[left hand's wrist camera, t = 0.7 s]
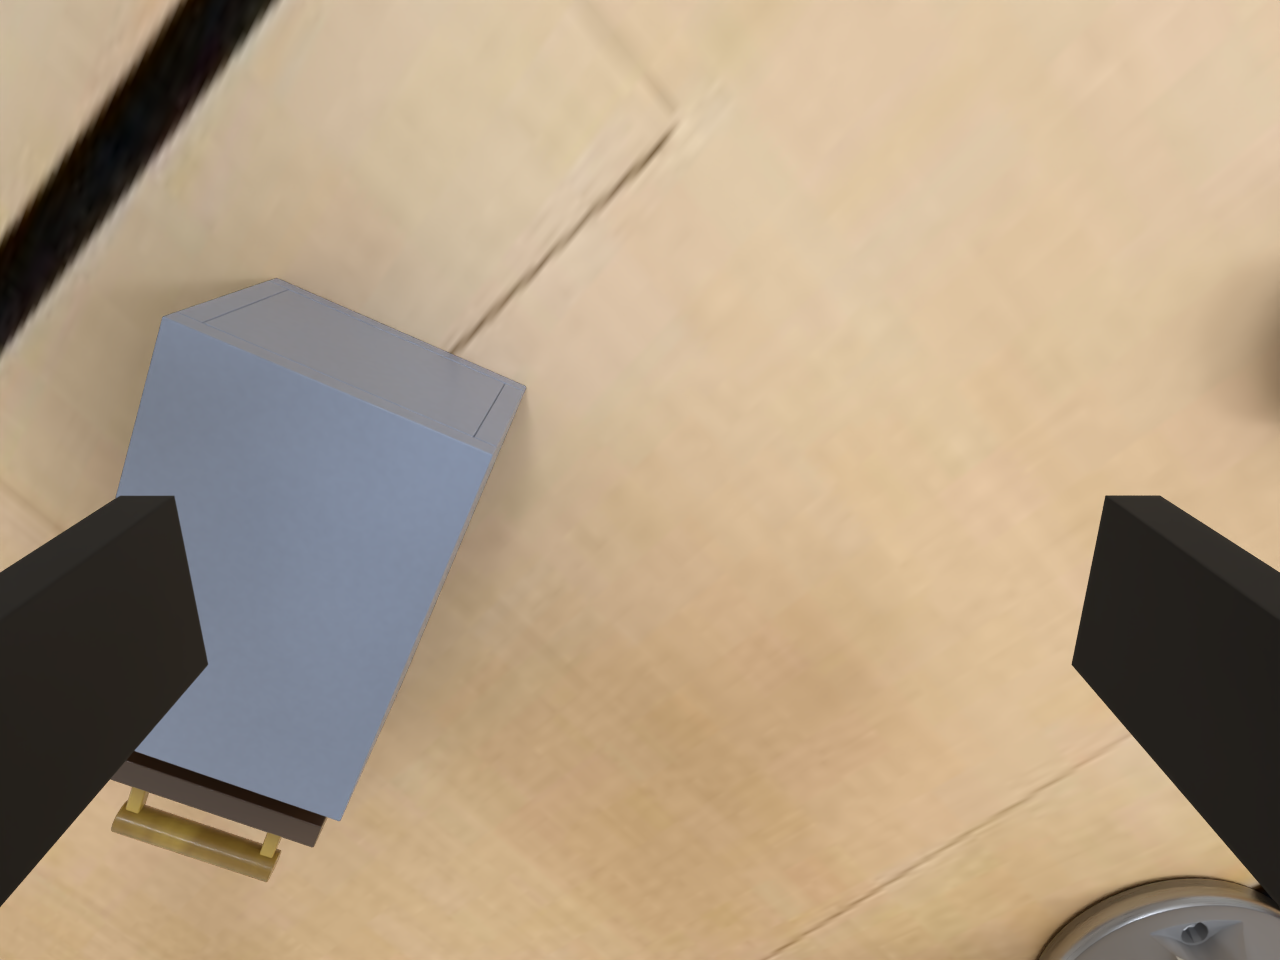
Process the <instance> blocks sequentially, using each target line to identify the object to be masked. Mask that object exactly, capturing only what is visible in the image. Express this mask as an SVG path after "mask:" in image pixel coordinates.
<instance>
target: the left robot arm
mask: <svg viewBox="0 0 1280 960" xmlns="http://www.w3.org/2000/svg"><path fill="white" fill-rule="evenodd" d="M207 666H208V660H207V655H206V650H205V645H204V640H203V635H202V630H201V625H200V621H199V616H198V611H197V606H196V601H195V596H194V591H193V586H192V581H191V576H190V571H189V566H188V561H187V556H186V551H185V546H184V541H183V536H182V531H181V526H180V521H179V516H178V511H177V506H176V501H175V496H119V497H117V498H116V499H114V500H113V501H111V502H109V503H108V504H106V505H105V506H103V507H102V508H100V509H99V510H97V511H95V512H94V513H92V514H91V515H89V516H88V517H86V518H85V519H83V520H81V521H80V522H78V523H77V524H75V525H74V526H72V527H70V528H69V529H67V530H66V531H64V532H63V533H61V534H60V535H58V536H56V537H55V538H53V539H52V540H50V541H49V542H47V543H46V544H44V545H42V546H41V547H39V548H38V549H36V550H35V551H33V552H32V553H30V554H28V555H27V556H25V557H24V558H22V559H21V560H19V561H17V562H16V563H14V564H13V565H11V566H10V567H8V568H7V569H5V570H3V571H2V572H0V907H1V905H2V904H3V903H4V902H5V901H6V900H7V898H8V897H9V896H10V895H11V894H12V893H13V892H14V890H15V889H16V888H17V887H18V886H19V885H20V883H21V882H22V881H23V880H24V879H25V878H26V876H27V875H28V874H29V873H30V872H31V871H32V869H33V868H34V867H35V866H36V865H37V864H38V862H39V861H40V860H41V859H42V858H43V857H44V855H45V854H46V853H47V852H48V851H49V850H50V848H51V847H52V846H53V845H54V844H55V843H56V841H57V840H58V839H59V838H60V837H61V836H62V834H63V833H64V832H65V831H66V830H67V829H68V827H69V826H70V825H71V824H72V823H73V822H74V820H75V819H76V818H77V817H78V816H79V815H80V814H81V812H82V811H83V810H84V809H85V808H86V807H87V805H88V804H89V803H90V802H91V801H92V800H93V798H94V797H95V796H96V795H97V794H98V793H99V791H100V790H101V789H102V788H103V787H104V786H105V784H106V783H107V782H108V781H109V780H110V779H111V777H112V776H113V775H114V774H115V773H116V772H117V770H118V769H119V768H120V767H121V766H122V765H123V763H124V762H125V761H126V760H127V759H128V758H129V756H130V755H131V754H132V753H133V752H134V751H135V749H136V748H137V747H138V746H139V745H140V744H141V742H142V741H143V740H144V739H145V738H146V737H147V735H148V734H149V733H150V732H151V731H152V730H153V729H154V727H155V726H156V725H157V724H158V723H159V722H160V720H161V719H162V718H163V717H164V716H165V715H166V713H167V712H168V711H169V710H170V709H171V708H172V706H173V705H174V704H175V703H176V702H177V701H178V699H179V698H180V697H181V696H182V695H183V694H184V692H185V691H186V690H187V689H188V688H189V687H190V685H191V684H192V683H193V682H194V681H195V680H196V678H197V677H198V676H199V675H200V674H201V673H202V671H203V670H204V669H205V668H206V667H207ZM1072 666H1073V667H1074V668H1075V669H1076V670H1077V671H1078V673H1079V674H1080V675H1081V676H1082V677H1083V678H1084V680H1085V681H1086V682H1087V683H1088V684H1089V685H1090V687H1091V688H1092V689H1093V690H1094V691H1095V692H1096V694H1097V695H1098V696H1099V697H1100V698H1101V699H1102V701H1103V702H1104V703H1105V704H1106V705H1107V706H1108V708H1109V709H1110V710H1111V711H1112V712H1113V713H1114V715H1115V716H1116V717H1117V718H1118V719H1119V720H1120V722H1121V723H1122V724H1123V725H1124V726H1125V727H1126V729H1127V730H1128V731H1129V732H1130V733H1131V734H1132V735H1133V737H1134V738H1135V739H1136V740H1137V741H1138V742H1139V744H1140V745H1141V746H1142V747H1143V748H1144V749H1145V751H1146V752H1147V753H1148V754H1149V755H1150V756H1151V758H1152V759H1153V760H1154V761H1155V762H1156V763H1157V765H1158V766H1159V767H1160V768H1161V769H1162V770H1163V772H1164V773H1165V774H1166V775H1167V776H1168V777H1169V779H1170V780H1171V781H1172V782H1173V783H1174V784H1175V786H1176V787H1177V788H1178V789H1179V790H1180V791H1181V793H1182V794H1183V795H1184V796H1185V797H1186V798H1187V800H1188V801H1189V802H1190V803H1191V804H1192V805H1193V807H1194V808H1195V809H1196V810H1197V811H1198V812H1199V814H1200V815H1201V816H1202V817H1203V818H1204V819H1205V820H1206V822H1207V823H1208V824H1209V825H1210V826H1211V827H1212V829H1213V830H1214V831H1215V832H1216V833H1217V834H1218V836H1219V837H1220V838H1221V839H1222V840H1223V841H1224V843H1225V844H1226V845H1227V846H1228V847H1229V848H1230V850H1231V851H1232V852H1233V853H1234V854H1235V855H1236V857H1237V858H1238V859H1239V860H1240V861H1241V862H1242V864H1243V865H1244V866H1245V867H1246V868H1247V869H1248V871H1249V872H1250V873H1251V874H1252V875H1253V876H1254V878H1255V879H1256V880H1257V881H1258V882H1259V883H1260V885H1261V886H1262V887H1263V888H1264V889H1265V890H1266V892H1267V893H1268V894H1269V895H1270V896H1271V897H1272V898H1273V900H1274V901H1275V902H1276V903H1277V904H1278V905H1279V907H1280V572H1278V571H1277V570H1275V569H1273V568H1272V567H1270V566H1269V565H1267V564H1266V563H1264V562H1263V561H1261V560H1259V559H1258V558H1256V557H1255V556H1253V555H1252V554H1250V553H1248V552H1247V551H1245V550H1244V549H1242V548H1241V547H1239V546H1238V545H1236V544H1234V543H1233V542H1231V541H1230V540H1228V539H1227V538H1225V537H1224V536H1222V535H1220V534H1219V533H1217V532H1216V531H1214V530H1213V529H1211V528H1210V527H1208V526H1206V525H1205V524H1203V523H1202V522H1200V521H1199V520H1197V519H1195V518H1194V517H1192V516H1191V515H1189V514H1188V513H1186V512H1185V511H1183V510H1181V509H1180V508H1178V507H1177V506H1175V505H1174V504H1172V503H1171V502H1169V501H1167V500H1166V499H1164V498H1163V497H1161V496H1105V501H1104V506H1103V511H1102V516H1101V521H1100V526H1099V531H1098V536H1097V541H1096V546H1095V551H1094V556H1093V561H1092V566H1091V571H1090V576H1089V581H1088V586H1087V591H1086V596H1085V601H1084V606H1083V611H1082V616H1081V620H1080V625H1079V630H1078V635H1077V640H1076V645H1075V650H1074V655H1073V660H1072Z"/></svg>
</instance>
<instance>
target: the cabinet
mask: <svg viewBox="0 0 1280 960" xmlns="http://www.w3.org/2000/svg"><path fill="white" fill-rule="evenodd" d="M525 389H526V386H524V385H522V384H520V383H517V382H515V381H513V380H510V379H508V378H506V377H503V376H501V375H499V374H497V373H494V372H492V371H490V370H487V369H485V368H483V367H480V366H478V365H476V364H474V363H471V362H469V361H467V360H464V359H462V358H460V357H457V356H455V355H453V354H451V353H448V352H446V351H444V350H441V349H439V348H437V347H434V346H432V345H430V344H428V343H425V342H423V341H421V340H418V339H416V338H414V337H411V336H409V335H407V334H404V333H402V332H400V331H398V330H395V329H393V328H391V327H388V326H386V325H384V324H381V323H379V322H377V321H375V320H372V319H370V318H368V317H365V316H363V315H361V314H358V313H356V312H354V311H352V310H349V309H347V308H345V307H342V306H340V305H338V304H335V303H333V302H331V301H329V300H326V299H324V298H322V297H319V296H317V295H315V294H312V293H310V292H308V291H306V290H303V289H301V288H299V287H296V286H294V285H292V284H289V283H287V282H285V281H283V280H280V279H278V278H275V279H272V280H269V281H266V282H263V283H260V284H257V285H254V286H251V287H248V288H245V289H242V290H239V291H236V292H233V293H230V294H227V295H225V296H222V297H219V298H216V299H213V300H210V301H207V302H204V303H201V304H198V305H195V306H192V307H189V308H186V309H183V310H180V311H178V312H175V313H172V314H169V315H166V316H163V317H162V321H161V325H160V329H159V332H158V336H157V340H156V344H155V348H154V352H153V356H152V359H151V363H150V367H149V371H148V375H147V379H146V383H145V386H144V390H143V394H142V398H141V402H140V406H139V410H138V413H137V417H136V421H135V425H134V429H133V433H132V437H131V440H130V444H129V448H128V452H127V456H126V460H125V464H124V467H123V471H122V475H121V479H120V483H119V487H118V491H117V494H116V498H117V497H119V496H175V501H176V506H177V511H178V516H179V521H180V526H181V531H182V536H183V541H184V546H185V551H186V556H187V561H188V566H189V571H190V576H191V581H192V586H193V591H194V596H195V601H196V606H197V611H198V616H199V621H200V625H201V630H202V635H203V640H204V645H205V650H206V655H207V660H208V666H207V667H206V668H205V669H204V670H203V671H202V673H201V674H200V675H199V676H198V677H197V678H196V680H195V681H194V682H193V683H192V684H191V685H190V687H189V688H188V689H187V690H186V691H185V692H184V694H183V695H182V696H181V697H180V698H179V699H178V701H177V702H176V703H175V704H174V705H173V706H172V708H171V709H170V710H169V711H168V712H167V713H166V715H165V716H164V717H163V718H162V719H161V720H160V722H159V723H158V724H157V725H156V726H155V727H154V729H153V730H152V731H151V732H150V733H149V734H148V735H147V737H146V738H145V739H144V740H143V741H142V742H141V744H140V745H139V746H138V747H137V748H136V749H135V751H136V752H139V753H142V754H145V755H148V756H151V757H153V758H156V759H159V760H162V761H165V762H168V763H171V764H174V765H177V766H180V767H183V768H186V769H188V770H191V771H194V772H197V773H200V774H203V775H206V776H209V777H212V778H215V779H218V780H221V781H223V782H226V783H229V784H232V785H235V786H238V787H241V788H244V789H247V790H250V791H253V792H255V793H258V794H261V795H264V796H267V797H270V798H273V799H276V800H279V801H282V802H285V803H288V804H290V805H293V806H296V807H299V808H302V809H305V810H308V811H311V812H314V813H317V814H320V815H323V816H325V817H328V818H331V819H334V820H337V821H340V820H341V818H342V816H343V814H344V812H345V809H346V807H347V805H348V803H349V800H350V798H351V796H352V794H353V792H354V789H355V787H356V785H357V783H358V780H359V778H360V776H361V774H362V771H363V769H364V767H365V765H366V763H367V760H368V758H369V756H370V754H371V751H372V749H373V747H374V745H375V743H376V740H377V738H378V736H379V734H380V731H381V729H382V727H383V725H384V723H385V720H386V718H387V716H388V714H389V711H390V709H391V707H392V705H393V702H394V700H395V698H396V696H397V694H398V691H399V689H400V687H401V684H402V682H403V680H404V677H405V675H406V673H407V670H408V668H409V665H410V663H411V661H412V658H413V656H414V653H415V651H416V649H417V646H418V644H419V642H420V639H421V637H422V634H423V632H424V630H425V627H426V625H427V623H428V620H429V618H430V615H431V613H432V611H433V608H434V606H435V604H436V601H437V599H438V596H439V594H440V592H441V589H442V587H443V584H444V582H445V580H446V577H447V575H448V573H449V570H450V568H451V565H452V563H453V561H454V558H455V556H456V554H457V551H458V549H459V546H460V544H461V542H462V539H463V537H464V535H465V532H466V530H467V527H468V525H469V523H470V520H471V518H472V515H473V513H474V511H475V508H476V506H477V504H478V501H479V499H480V496H481V494H482V492H483V489H484V487H485V485H486V482H487V480H488V477H489V475H490V473H491V470H492V468H493V465H494V463H495V461H496V458H497V456H498V454H499V451H500V449H501V446H502V444H503V442H504V439H505V437H506V435H507V432H508V430H509V427H510V425H511V423H512V420H513V418H514V416H515V413H516V411H517V408H518V406H519V404H520V401H521V399H522V396H523V394H524V392H525ZM116 498H115V499H116Z"/></svg>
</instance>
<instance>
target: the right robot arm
mask: <svg viewBox="0 0 1280 960" xmlns="http://www.w3.org/2000/svg"><path fill="white" fill-rule="evenodd" d="M1038 960H1280V907H1279V905H1278V904H1277V903H1276V902H1274V901H1273V900H1272V899H1270V898H1269V897H1267V896H1265V895H1264V894H1262V893H1260V892H1258V891H1256V890H1253V889H1251V888H1249V887H1246V886H1242V885H1239V884H1236V883H1231V882H1227V881H1221V880H1213V879H1198V878H1194V879H1176V880H1167V881H1161V882H1156V883H1151V884H1147V885H1143V886H1139V887H1136V888H1133V889H1130V890H1127V891H1124V892H1122V893H1119V894H1117V895H1114V896H1112V897H1110V898H1108V899H1106V900H1104V901H1102V902H1099V903H1098V904H1096V905H1094V906H1093V907H1091V908H1089V909H1087V910H1086V911H1085V912H1083V913H1082V914H1080V915H1079V916H1077V917H1076V918H1075V919H1073V920H1072V921H1071V922H1070V923H1068V924H1067V925H1066V926H1065V927H1064V928H1063V929H1062V930H1061V931H1060V932H1059V933H1058V934H1057V935H1056V936H1055V937H1054V938H1053V939H1052V940H1051V942H1050V943H1049V944H1048V945H1047V947H1046V948H1045V950H1044V951H1043V952H1042V954H1041V956H1040V958H1039V959H1038Z"/></svg>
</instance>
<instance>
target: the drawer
mask: <svg viewBox="0 0 1280 960" xmlns="http://www.w3.org/2000/svg"><path fill="white" fill-rule="evenodd" d="M111 780H114V781H117V782H120V783H123V784H126V785H129V786H132V789H131V792H130V796H129V799H128V800H127V801H126V802H125V803H124V805H123V806H122V807H121V809H120V810H119V812H118V814H117V815H116V817H115V819H114V822H113V824H112V828H111V831H112V832H115V833H118V834H121V835H124V836H127V837H130V838H133V839H136V840H140V841H143V842H146V843H149V844H152V845H155V846H158V847H161V848H164V849H167V850H170V851H173V852H176V853H179V854H182V855H185V856H188V857H191V858H194V859H197V860H200V861H204V862H207V863H210V864H213V865H216V866H219V867H222V868H225V869H228V870H231V871H234V872H237V873H240V874H243V875H246V876H249V877H252V878H255V879H258V880H261V881H264V882H267V881H268V880H269V878H270V876H271V874H272V872H273V870H274V868H275V866H276V864H277V862H278V859H279V857H280V854H281V850H279V849H277V848H278V845H279V843H280V840H281V837H283V838H286V839H289V840H292V841H295V842H298V843H301V844H304V845H307V846H310V847H314V846H315V843H316V841H317V839H318V837H319V835H320V833H321V831H322V829H323V826H324V824H325V822H326V820H327V818H328V817H325V816H323V815H320V814H317V813H314V812H311V811H308V810H305V809H302V808H299V807H296V806H293V805H290V804H288V803H285V802H282V801H279V800H276V799H273V798H270V797H267V796H264V795H261V794H258V793H255V792H253V791H250V790H247V789H244V788H241V787H238V786H235V785H232V784H229V783H226V782H223V781H221V780H218V779H215V778H212V777H209V776H206V775H203V774H200V773H197V772H194V771H191V770H188V769H186V768H183V767H180V766H177V765H174V764H171V763H168V762H165V761H162V760H159V759H156V758H153V757H151V756H148V755H145V754H142V753H139V752H136V751H134V752H133V753H132V754H131V755H130V756H129V758H128V759H127V760H126V761H125V762H124V763H123V765H122V766H121V767H120V768H119V769H118V770H117V772H116V773H115V774H114V775H113V776H112V777H111ZM149 793H152V794H155V795H158V796H161V797H164V798H167V799H170V800H173V801H176V802H179V803H182V804H185V805H188V806H191V807H194V808H197V809H200V810H203V811H206V812H209V813H212V814H215V815H218V816H221V817H224V818H227V819H230V820H232V821H235V822H238V823H241V824H244V825H247V826H250V827H253V828H256V829H259V830H262V831H265V832H267V835H266V838H265V840H264V843H263V844H261V843H258V842H255V841H252V840H249V839H246V838H243V837H240V836H237V835H234V834H231V833H228V832H225V831H222V830H219V829H216V828H213V827H210V826H207V825H204V824H201V823H198V822H195V821H192V820H189V819H186V818H183V817H180V816H177V815H174V814H171V813H168V812H165V811H162V810H159V809H156V808H153V807H150V806H147V805H145V803H146V800H147V797H148V794H149Z"/></svg>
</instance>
